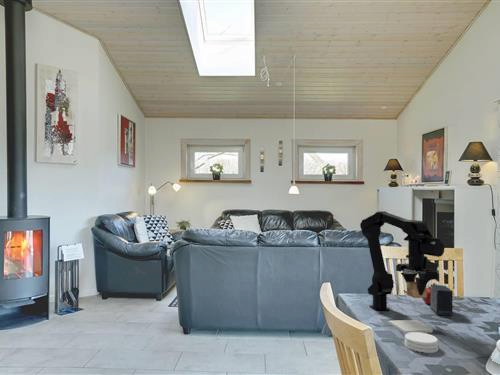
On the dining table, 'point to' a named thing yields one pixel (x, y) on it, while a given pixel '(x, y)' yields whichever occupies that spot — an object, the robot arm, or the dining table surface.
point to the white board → (410, 326)
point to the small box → (441, 300)
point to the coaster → (421, 342)
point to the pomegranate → (428, 295)
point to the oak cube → (415, 290)
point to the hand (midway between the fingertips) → (416, 293)
